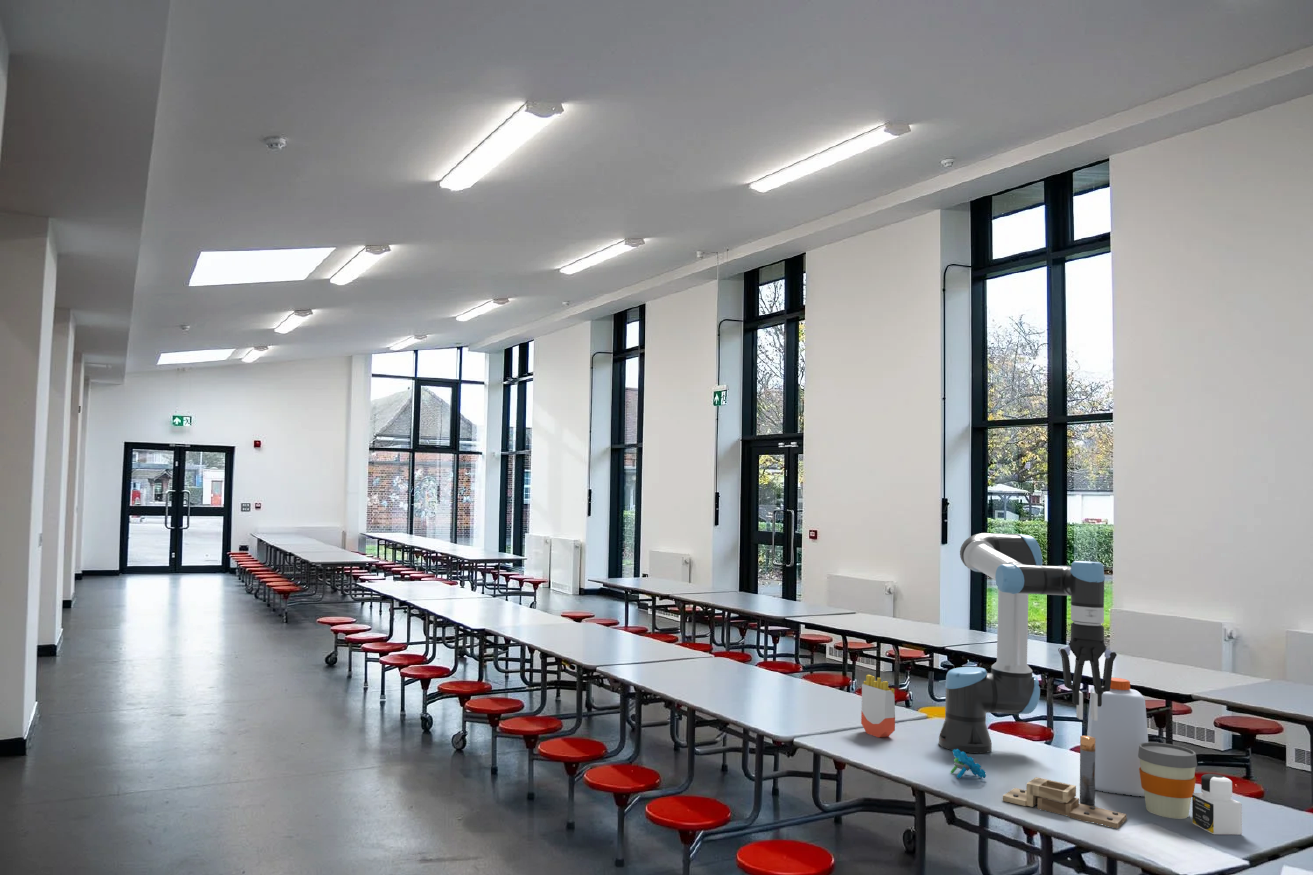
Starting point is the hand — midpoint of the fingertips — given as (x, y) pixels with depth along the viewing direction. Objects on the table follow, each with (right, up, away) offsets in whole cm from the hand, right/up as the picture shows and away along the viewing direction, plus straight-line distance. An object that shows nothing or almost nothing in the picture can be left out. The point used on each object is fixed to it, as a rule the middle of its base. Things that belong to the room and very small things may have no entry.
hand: (1086, 718), depth 223 cm
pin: (-1, -21, -1) cm, 21 cm away
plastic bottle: (+14, -22, +13) cm, 30 cm away
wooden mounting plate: (-6, -20, -10) cm, 23 cm away
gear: (-24, -21, +17) cm, 36 cm away
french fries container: (-37, -24, +59) cm, 74 cm away
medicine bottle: (+22, -21, -16) cm, 34 cm away
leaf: (-13, -20, -4) cm, 24 cm away
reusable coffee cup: (+17, -21, -6) cm, 28 cm away
